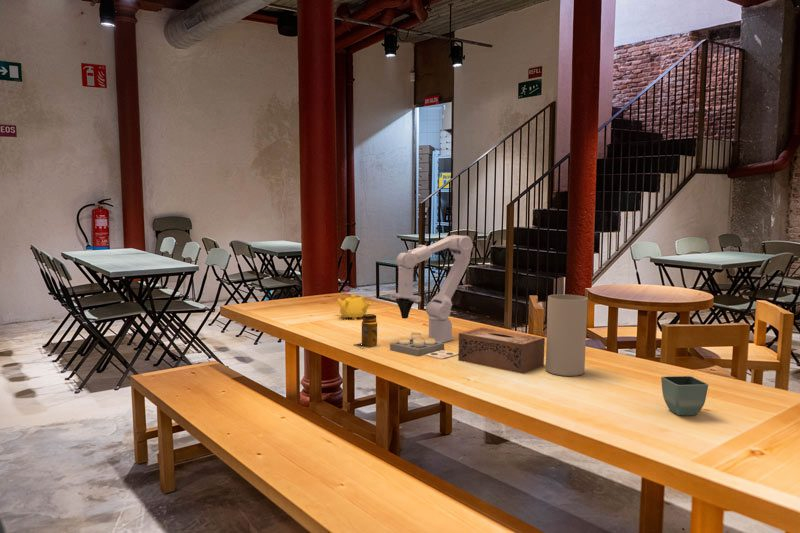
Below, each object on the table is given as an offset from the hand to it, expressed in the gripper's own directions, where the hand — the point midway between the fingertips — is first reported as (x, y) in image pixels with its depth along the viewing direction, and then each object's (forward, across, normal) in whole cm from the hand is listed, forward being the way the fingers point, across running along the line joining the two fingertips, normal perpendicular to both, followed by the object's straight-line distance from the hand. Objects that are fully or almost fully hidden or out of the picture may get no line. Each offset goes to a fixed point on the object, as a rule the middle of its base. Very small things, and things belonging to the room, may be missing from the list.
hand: (404, 318), depth 248 cm
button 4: (+9, +13, 0) cm, 16 cm away
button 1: (+9, +6, -7) cm, 13 cm away
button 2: (+8, +6, 0) cm, 10 cm away
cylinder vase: (+10, +65, +7) cm, 66 cm away
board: (+10, +10, -3) cm, 15 cm away
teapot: (+11, -56, +25) cm, 62 cm away
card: (+10, +22, -3) cm, 24 cm away
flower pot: (+10, +108, -9) cm, 109 cm away
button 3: (+8, +13, -7) cm, 17 cm away
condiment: (+11, -9, -12) cm, 18 cm away
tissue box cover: (+11, +43, +2) cm, 44 cm away
